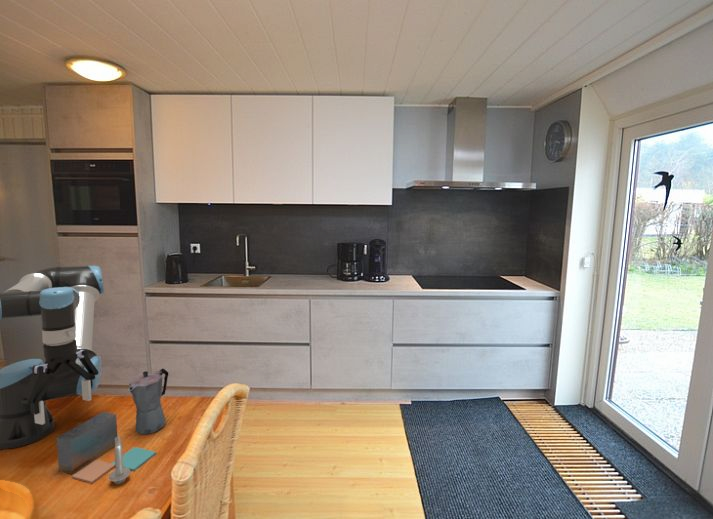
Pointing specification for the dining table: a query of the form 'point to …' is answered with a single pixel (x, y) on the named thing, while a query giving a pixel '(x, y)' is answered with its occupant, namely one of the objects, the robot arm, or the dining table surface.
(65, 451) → the grey unit
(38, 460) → the dining table surface
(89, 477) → the terracotta pad
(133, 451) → the teal pad
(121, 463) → the screw
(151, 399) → the moka pot
